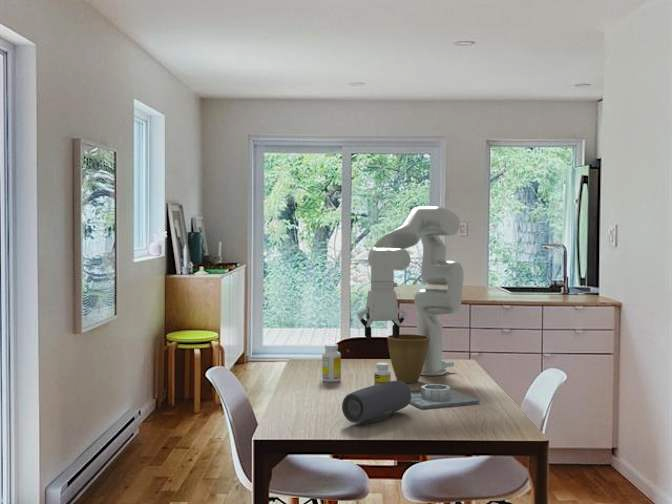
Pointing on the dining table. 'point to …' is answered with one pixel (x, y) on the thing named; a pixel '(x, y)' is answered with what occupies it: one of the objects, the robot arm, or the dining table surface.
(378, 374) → the supplement bottle
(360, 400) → the bluetooth speaker
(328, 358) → the supplement bottle
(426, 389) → the duct collar
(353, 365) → the dining table surface
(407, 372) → the plant pot
